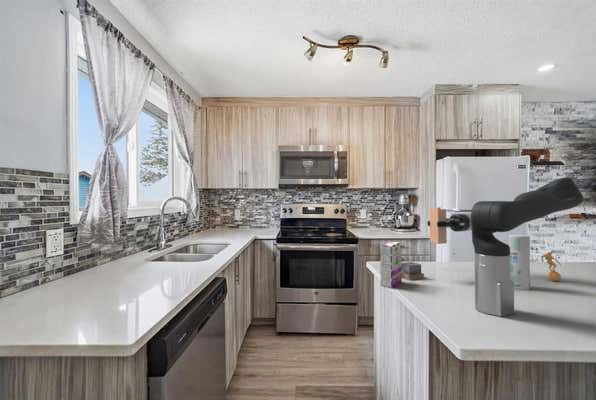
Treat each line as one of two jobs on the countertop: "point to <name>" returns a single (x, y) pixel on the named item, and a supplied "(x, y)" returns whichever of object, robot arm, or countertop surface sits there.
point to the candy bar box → (390, 264)
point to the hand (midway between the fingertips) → (433, 223)
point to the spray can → (520, 261)
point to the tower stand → (411, 271)
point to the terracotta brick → (437, 233)
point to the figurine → (553, 274)
